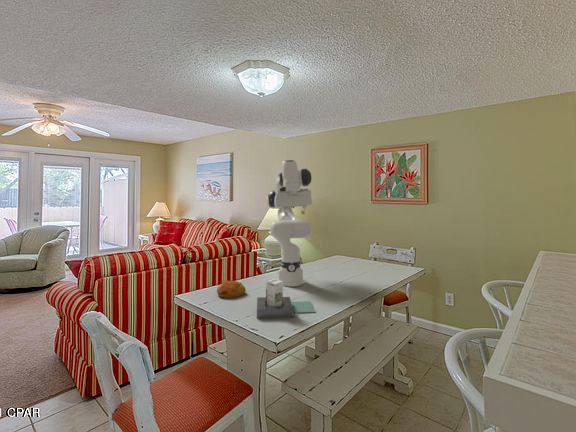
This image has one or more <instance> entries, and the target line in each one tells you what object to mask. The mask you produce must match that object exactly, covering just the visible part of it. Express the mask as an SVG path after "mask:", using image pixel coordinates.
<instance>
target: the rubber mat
mask: <svg viewBox="0 0 576 432" xmlns="http://www.w3.org/2000/svg"><path fill="white" fill-rule="evenodd" d="M291 304H292V307H293V314H312V313H313V314H316V310H315V308H314V306H313V303H312V302H311V301H310V300H307V301H306V300H305V301H301V300H300V301H299V300H297V301H291Z"/></svg>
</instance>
